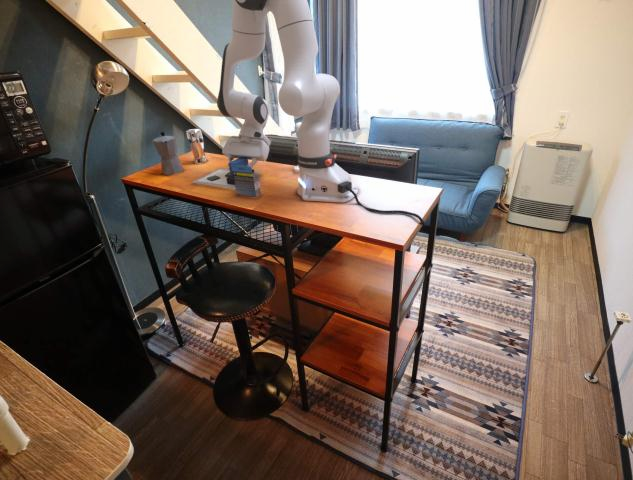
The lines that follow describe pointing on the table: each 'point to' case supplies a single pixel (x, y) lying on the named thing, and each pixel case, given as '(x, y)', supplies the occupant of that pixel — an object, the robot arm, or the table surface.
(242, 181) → the tape cartridge
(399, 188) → the table surface
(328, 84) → the robot arm
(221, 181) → the whiteboard
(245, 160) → the eraser
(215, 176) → the scribble
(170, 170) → the coffeepot
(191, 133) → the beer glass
